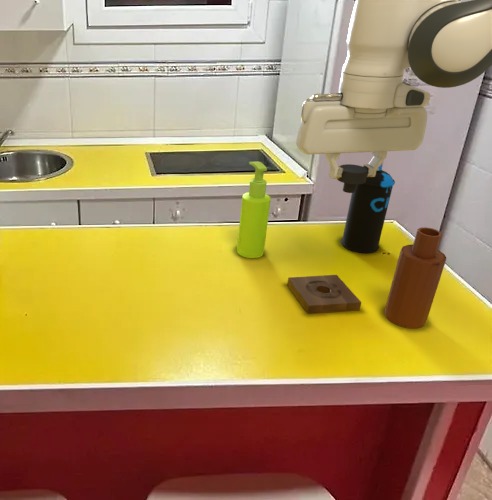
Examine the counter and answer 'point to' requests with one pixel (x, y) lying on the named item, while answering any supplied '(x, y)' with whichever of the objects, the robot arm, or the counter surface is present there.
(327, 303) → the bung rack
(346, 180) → the cylinder
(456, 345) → the counter surface
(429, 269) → the bottle
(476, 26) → the robot arm
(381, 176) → the aerosol can
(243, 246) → the soap dispenser
